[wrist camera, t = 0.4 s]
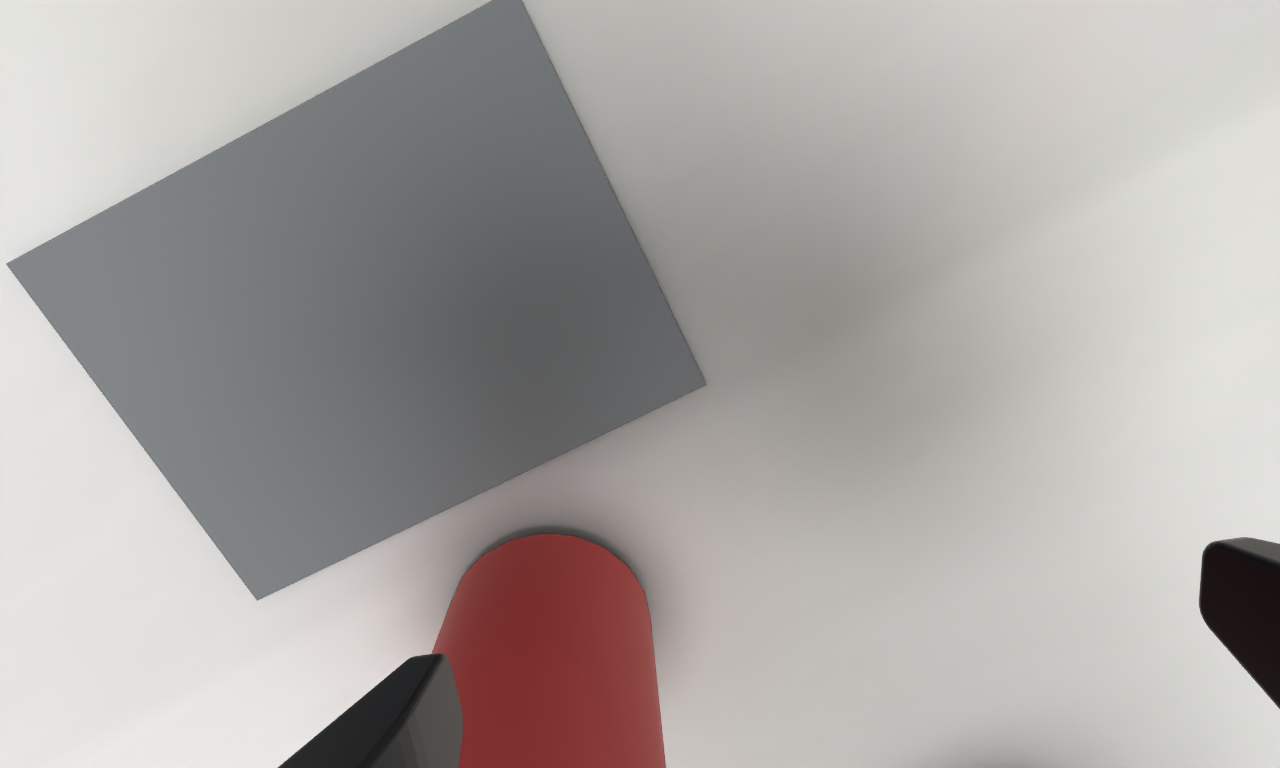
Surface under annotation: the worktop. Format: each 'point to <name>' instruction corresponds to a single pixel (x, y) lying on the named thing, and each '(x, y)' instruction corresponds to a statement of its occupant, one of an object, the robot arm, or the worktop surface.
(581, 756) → the beer can
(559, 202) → the mat
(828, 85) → the worktop surface
